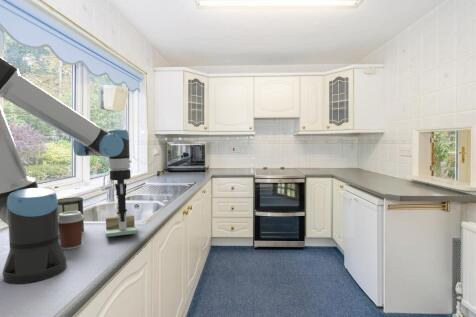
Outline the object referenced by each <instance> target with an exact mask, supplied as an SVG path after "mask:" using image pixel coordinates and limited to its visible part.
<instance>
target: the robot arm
mask: <svg viewBox="0 0 476 317" xmlns="http://www.w3.org/2000/svg"><path fill="white" fill-rule="evenodd" d="M1 98H3V99H4V100H6V101H8V102H10V103H12V105H15V106H17V107H18V108H20V109H22V110H23V111H25V112H26V113H29V114H30V115H32V116H33V117H35V118H37V119H38V120H41V121H42V122H44V123H46V124H47V125H49V126H51V127H52V128H54V129H56V130H58V131H60V132H61V133H63V134H65V135H66V136H67V137H69V138H71V139H73V140H72V149H73V152H74V154H75V155H76V156H78V157H91V156H92V157H93V156H95V157H106V158H108V165H109V166H108V169H109V179H110V180H111V181H116V182H117V183H115V185H114V186H115V188H114V189H115V191H116V192H115V195H116V197H117V211H116V215H117V216H118V217H119V230H124V229H127V226H126V215H127V211H128V209H127V207H126V206H127V205H126V204H127V203H126V196H127V183H125V181H126V180H130V179H132V178H131V177H132V176H131V169H130V168H131V163H132V160H131V158H130V136H129V131H128V130H127V129H119V128H118V129H108V130H107V131H106V130H105V129H104V128H102V127H100V126H98V125H97V124H96V123H94V122H93V121H91V120H89V119H88V118H86V117H85V116H83V115H82V114H80V113H78V112H77V111H76V110H74V109H73V108H71V107H70V106H68V105H67V104H65V103H64V102H62V101H60V100H59V99H58V98H56V97H54V96H53V95H51V94H50V93H49V92H47V91H45V90H43V89H42V88H41V87H40V86H38V85H37V84H35V83H33V82H31V81H30V80H28V79H27V78H25V77H24V76H22V75H21V72H20V70H19V69H18V68H17V67H16V66H14V65H13V64H11V63H10V62H8V61H7V60H5V59H4V58H2V57H1V56H0V99H1ZM57 199H58V197H57V193H56V192H55V191H54V190H52V189H49V188H42V187H39V186H38V183H37V180H36V179H35V178H33V177H30V176H29V175H28V173H27V171H26V168H25V166H24V163H23V160H22V158H21V155H20V152H19V150H18V147H17V145H16V142H15V139H14V137H13V135H12V132H11V129H10V127H9V125H8V121H7V119H6V117H5V114H4V112H3V109H2V106H1V105H0V220H1V221H2V222H3V223H4V224H6V225H8V237H9V239H8V240H9V251H8V253H7V254H8V255H7V258H6V261H5V264H4V266H3V269H2V278H3V281H4V282H6V283H8V284H15V285H16V284H17V285H18V284H28V283H34V282H40V281H43V280H46V279H50V278H52V277H54V276H57V275H59V274H60V273H62V272H64V271H65V269H66V268H67V265H68V264H67V263H68V262H67V258H66V255H65V252H64V249H62V248H61V243H60V237H59V235H58V207H57V206H58V200H57Z"/></svg>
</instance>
